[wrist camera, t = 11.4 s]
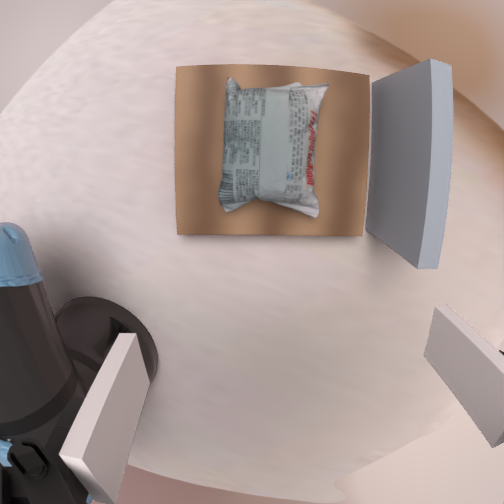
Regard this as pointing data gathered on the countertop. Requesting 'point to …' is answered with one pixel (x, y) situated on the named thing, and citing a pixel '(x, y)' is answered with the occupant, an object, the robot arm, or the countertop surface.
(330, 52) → the countertop surface
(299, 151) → the packaged food
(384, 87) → the backboard
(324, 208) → the plinth
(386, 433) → the countertop surface
